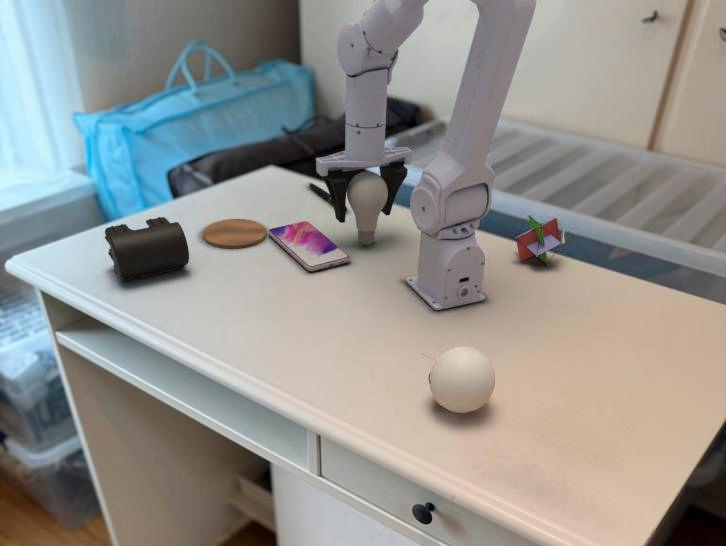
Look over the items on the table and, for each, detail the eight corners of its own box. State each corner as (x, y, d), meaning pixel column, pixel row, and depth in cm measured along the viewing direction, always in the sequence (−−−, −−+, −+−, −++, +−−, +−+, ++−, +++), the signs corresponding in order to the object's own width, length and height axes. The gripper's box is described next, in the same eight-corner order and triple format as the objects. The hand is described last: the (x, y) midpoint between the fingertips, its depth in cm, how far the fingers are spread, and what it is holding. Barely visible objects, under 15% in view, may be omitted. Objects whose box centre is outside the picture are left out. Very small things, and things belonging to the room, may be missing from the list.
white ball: (504, 413, 81) (515, 358, 76) (451, 434, 78) (459, 378, 73) (451, 370, 87) (458, 316, 82) (401, 387, 84) (405, 332, 79)
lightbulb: (368, 233, 116) (370, 162, 108) (393, 246, 112) (397, 174, 105) (338, 242, 113) (338, 170, 105) (363, 256, 109) (365, 183, 102)
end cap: (124, 290, 100) (114, 244, 95) (109, 269, 104) (99, 224, 100) (192, 275, 104) (186, 229, 99) (176, 255, 108) (169, 211, 103)
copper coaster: (275, 242, 112) (275, 239, 112) (212, 252, 109) (212, 249, 109) (255, 218, 119) (254, 215, 119) (195, 227, 116) (195, 224, 115)
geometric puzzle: (516, 260, 105) (554, 214, 102) (495, 241, 110) (531, 196, 106) (545, 283, 109) (582, 239, 106) (523, 263, 114) (559, 220, 111)
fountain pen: (304, 186, 130) (303, 177, 129) (309, 185, 130) (309, 176, 129) (344, 214, 121) (344, 205, 120) (350, 213, 121) (350, 204, 120)
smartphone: (309, 268, 104) (266, 229, 114) (309, 273, 105) (266, 234, 114) (352, 257, 107) (307, 220, 116) (352, 262, 107) (307, 225, 117)
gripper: (398, 108, 106) (393, 200, 116) (307, 118, 102) (309, 213, 111) (420, 123, 102) (413, 217, 111) (326, 134, 97) (327, 231, 106)
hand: (363, 216), depth 111 cm, fingers open, 7 cm apart
